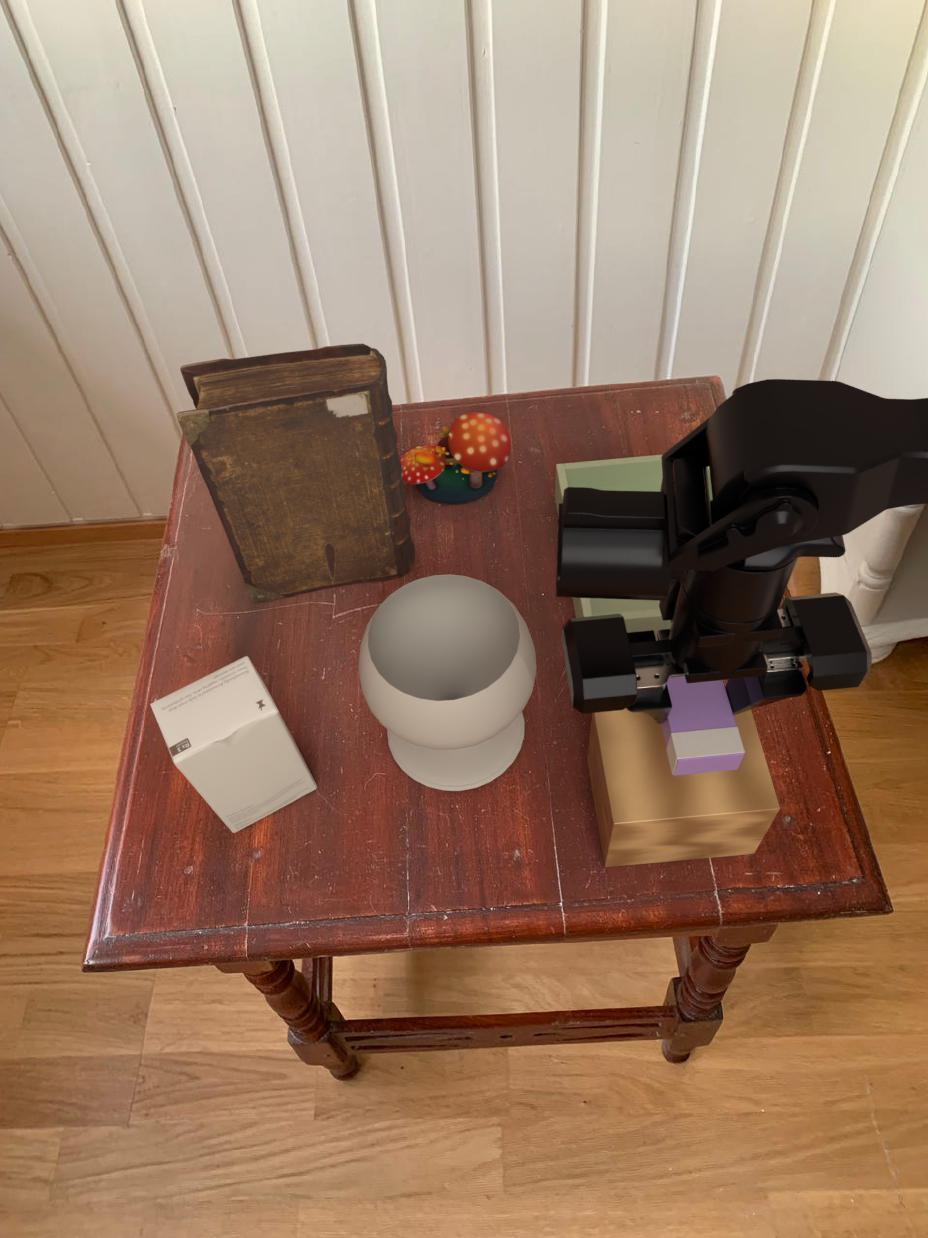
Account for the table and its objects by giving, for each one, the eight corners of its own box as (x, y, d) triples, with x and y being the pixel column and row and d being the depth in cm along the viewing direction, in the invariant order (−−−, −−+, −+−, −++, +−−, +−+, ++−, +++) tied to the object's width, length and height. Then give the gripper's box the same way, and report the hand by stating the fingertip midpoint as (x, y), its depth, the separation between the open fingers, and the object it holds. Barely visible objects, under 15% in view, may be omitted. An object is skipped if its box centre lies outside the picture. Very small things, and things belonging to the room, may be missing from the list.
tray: (702, 484, 95) (710, 449, 91) (749, 638, 84) (761, 606, 79) (554, 497, 95) (555, 463, 91) (582, 653, 84) (585, 622, 80)
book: (416, 538, 93) (384, 337, 72) (418, 593, 89) (385, 396, 68) (254, 551, 93) (178, 354, 73) (249, 607, 89) (166, 415, 68)
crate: (725, 746, 77) (746, 693, 70) (754, 854, 72) (780, 809, 65) (586, 759, 77) (592, 707, 70) (604, 867, 72) (613, 824, 65)
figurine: (506, 439, 100) (505, 379, 93) (514, 501, 95) (513, 442, 88) (399, 448, 100) (390, 388, 93) (400, 511, 95) (391, 452, 88)
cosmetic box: (293, 739, 80) (251, 647, 68) (320, 793, 77) (282, 707, 65) (204, 783, 78) (145, 698, 66) (229, 841, 75) (172, 762, 63)
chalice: (556, 688, 82) (562, 589, 69) (502, 826, 74) (497, 742, 62) (415, 644, 85) (397, 542, 73) (350, 771, 78) (318, 682, 66)
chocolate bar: (707, 661, 68) (713, 642, 66) (738, 770, 63) (745, 753, 60) (646, 667, 68) (650, 649, 66) (672, 776, 63) (677, 760, 60)
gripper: (847, 467, 57) (788, 611, 70) (553, 496, 57) (548, 634, 70) (912, 610, 50) (834, 740, 63) (580, 643, 50) (569, 766, 63)
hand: (691, 714), depth 65 cm, fingers closed on chocolate bar, 4 cm apart
